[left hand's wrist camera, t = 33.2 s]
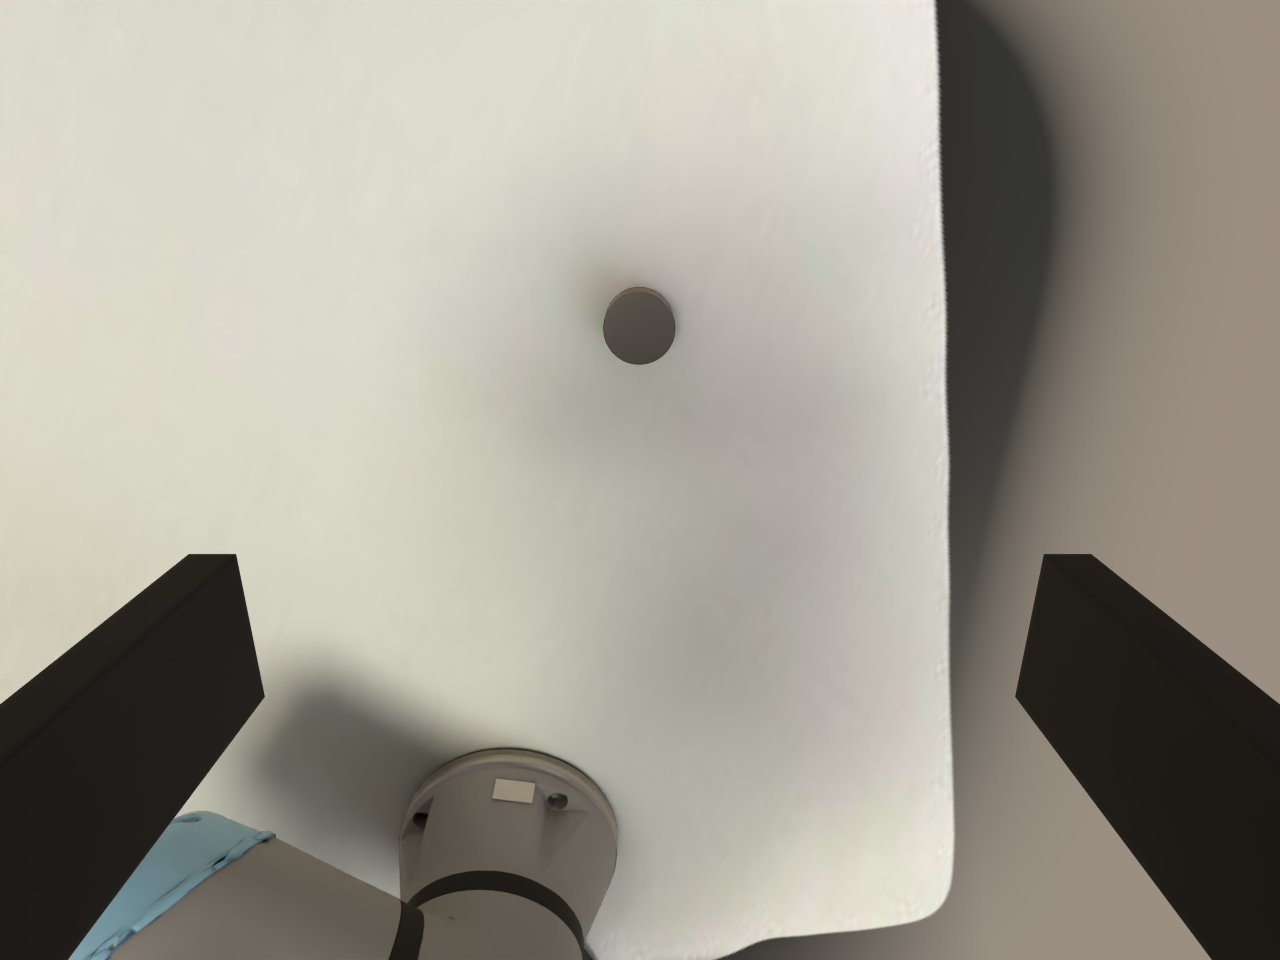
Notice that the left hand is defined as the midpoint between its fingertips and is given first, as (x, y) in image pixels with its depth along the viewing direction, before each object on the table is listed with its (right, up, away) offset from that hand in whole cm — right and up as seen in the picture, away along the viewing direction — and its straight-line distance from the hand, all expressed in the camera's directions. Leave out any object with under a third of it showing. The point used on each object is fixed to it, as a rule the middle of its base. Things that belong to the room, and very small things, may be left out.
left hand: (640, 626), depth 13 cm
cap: (0, +11, +28) cm, 30 cm away
